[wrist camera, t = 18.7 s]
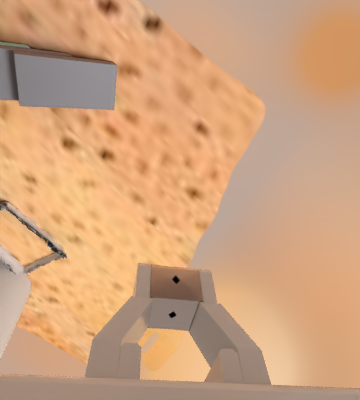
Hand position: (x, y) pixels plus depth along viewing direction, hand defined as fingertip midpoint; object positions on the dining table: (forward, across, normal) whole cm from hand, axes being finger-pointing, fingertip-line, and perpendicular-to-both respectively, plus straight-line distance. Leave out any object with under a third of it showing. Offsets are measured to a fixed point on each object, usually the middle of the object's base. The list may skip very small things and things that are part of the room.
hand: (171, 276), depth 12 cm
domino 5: (+28, +6, 0) cm, 29 cm away
